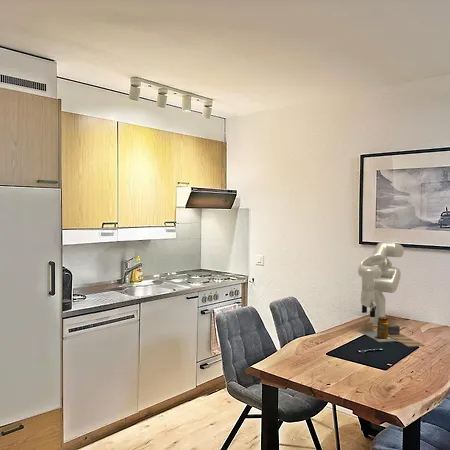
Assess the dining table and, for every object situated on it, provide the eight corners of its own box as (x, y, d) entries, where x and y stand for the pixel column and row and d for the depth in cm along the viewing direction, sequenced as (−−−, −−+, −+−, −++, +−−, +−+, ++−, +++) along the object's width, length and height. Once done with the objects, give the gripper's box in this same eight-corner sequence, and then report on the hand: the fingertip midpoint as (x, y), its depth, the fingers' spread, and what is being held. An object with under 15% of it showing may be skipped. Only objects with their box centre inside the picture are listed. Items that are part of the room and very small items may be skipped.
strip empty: (384, 334, 270) (385, 325, 270) (399, 334, 272) (399, 325, 271) (408, 347, 246) (408, 337, 246) (424, 345, 248) (424, 336, 248)
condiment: (390, 337, 262) (391, 317, 261) (384, 340, 256) (384, 320, 255) (379, 335, 267) (379, 315, 266) (372, 338, 261) (372, 318, 261)
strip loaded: (358, 331, 278) (358, 322, 278) (373, 330, 280) (373, 321, 280) (379, 342, 255) (379, 332, 254) (395, 341, 256) (395, 332, 256)
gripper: (356, 285, 284) (356, 311, 286) (369, 291, 267) (370, 319, 269) (366, 284, 286) (366, 310, 287) (381, 290, 269) (381, 318, 270)
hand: (368, 314), depth 278 cm, fingers open, 9 cm apart
